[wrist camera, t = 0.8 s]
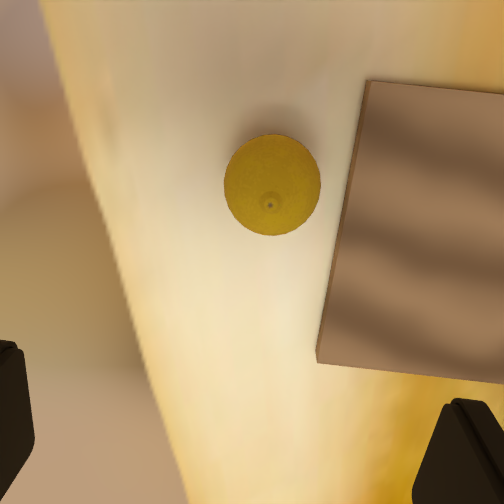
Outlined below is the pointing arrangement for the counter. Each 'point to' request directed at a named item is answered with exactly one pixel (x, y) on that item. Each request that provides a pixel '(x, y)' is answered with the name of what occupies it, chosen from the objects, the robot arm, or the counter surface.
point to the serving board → (421, 238)
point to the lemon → (272, 184)
